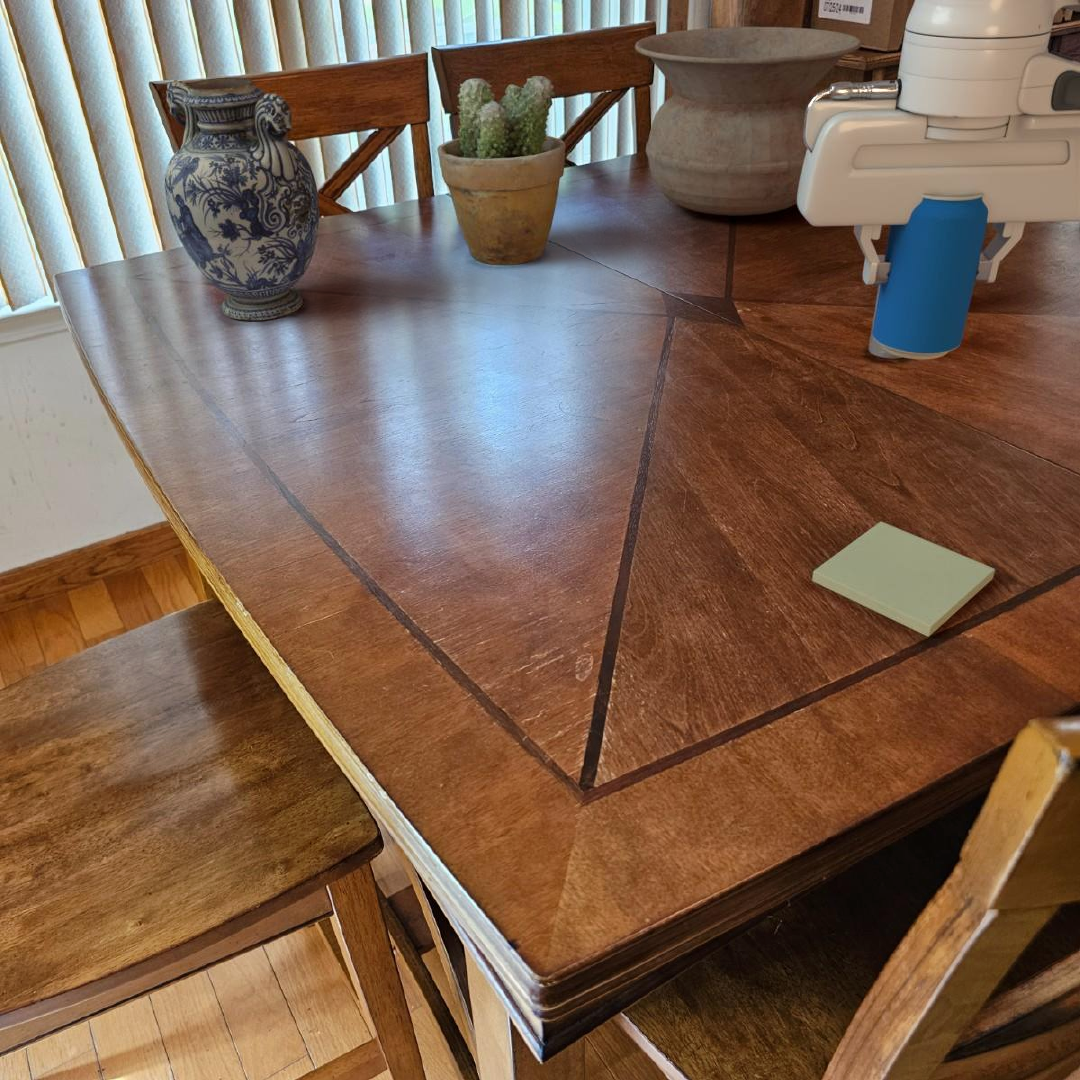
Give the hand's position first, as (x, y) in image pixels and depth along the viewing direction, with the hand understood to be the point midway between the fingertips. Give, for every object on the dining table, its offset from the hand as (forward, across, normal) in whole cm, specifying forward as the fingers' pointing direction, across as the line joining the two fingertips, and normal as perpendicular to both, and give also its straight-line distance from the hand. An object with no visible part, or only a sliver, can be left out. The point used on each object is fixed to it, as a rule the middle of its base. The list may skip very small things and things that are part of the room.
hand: (927, 281), depth 73 cm
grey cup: (+21, +10, +36) cm, 43 cm away
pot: (+21, -1, +97) cm, 99 cm away
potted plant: (+22, -38, +75) cm, 87 cm away
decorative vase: (+22, -69, +54) cm, 90 cm away
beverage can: (+5, 0, 0) cm, 5 cm away
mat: (+21, 0, -8) cm, 23 cm away
